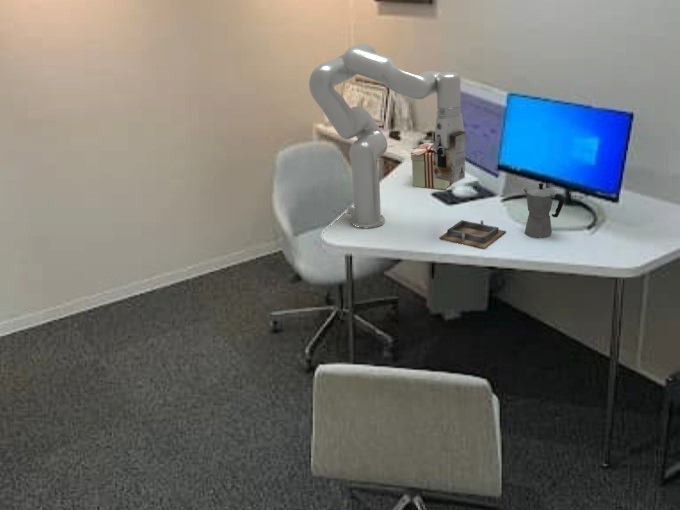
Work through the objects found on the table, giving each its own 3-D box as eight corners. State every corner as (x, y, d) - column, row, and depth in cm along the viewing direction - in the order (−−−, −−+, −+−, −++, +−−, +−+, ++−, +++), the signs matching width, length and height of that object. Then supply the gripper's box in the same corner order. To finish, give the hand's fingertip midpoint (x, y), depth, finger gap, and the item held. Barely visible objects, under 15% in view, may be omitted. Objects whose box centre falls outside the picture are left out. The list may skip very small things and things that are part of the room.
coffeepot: (513, 232, 249) (516, 183, 241) (529, 224, 254) (531, 176, 247) (553, 244, 238) (557, 192, 231) (568, 235, 244) (572, 185, 236)
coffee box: (432, 178, 245) (431, 131, 238) (443, 173, 249) (443, 127, 242) (454, 182, 239) (454, 135, 232) (466, 177, 243) (466, 130, 237)
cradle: (439, 239, 247) (439, 230, 245) (461, 224, 258) (461, 215, 257) (484, 249, 237) (484, 240, 236) (505, 233, 249) (506, 224, 247)
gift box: (416, 175, 312) (415, 136, 304) (458, 178, 305) (458, 138, 297) (403, 188, 297) (402, 147, 290) (447, 191, 290) (447, 150, 283)
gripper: (439, 118, 227) (440, 172, 234) (474, 107, 237) (474, 160, 244) (422, 115, 232) (423, 168, 239) (457, 105, 242) (457, 156, 250)
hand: (449, 164), depth 242 cm, fingers closed on coffee box, 6 cm apart
